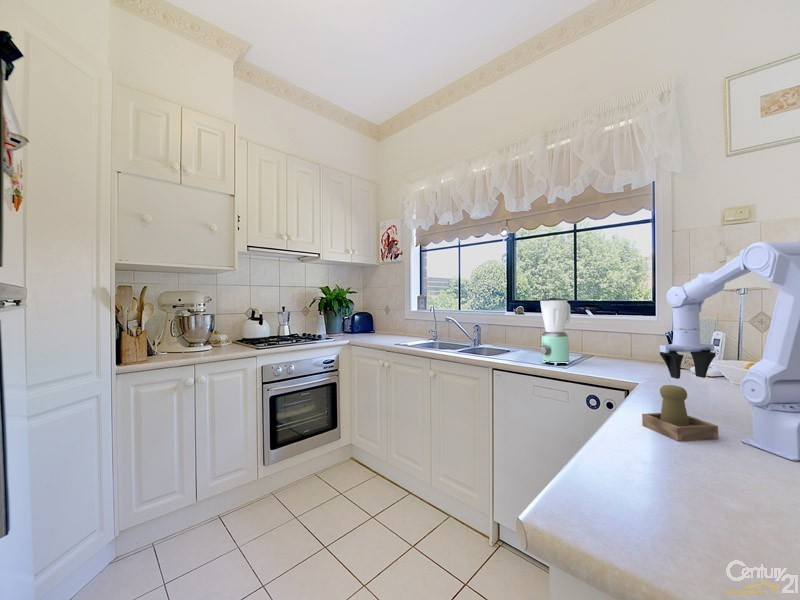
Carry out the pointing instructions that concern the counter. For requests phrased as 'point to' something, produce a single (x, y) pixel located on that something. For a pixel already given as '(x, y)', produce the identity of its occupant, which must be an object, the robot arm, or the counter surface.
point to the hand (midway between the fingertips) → (688, 377)
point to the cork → (674, 405)
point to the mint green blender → (555, 330)
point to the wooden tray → (681, 428)
